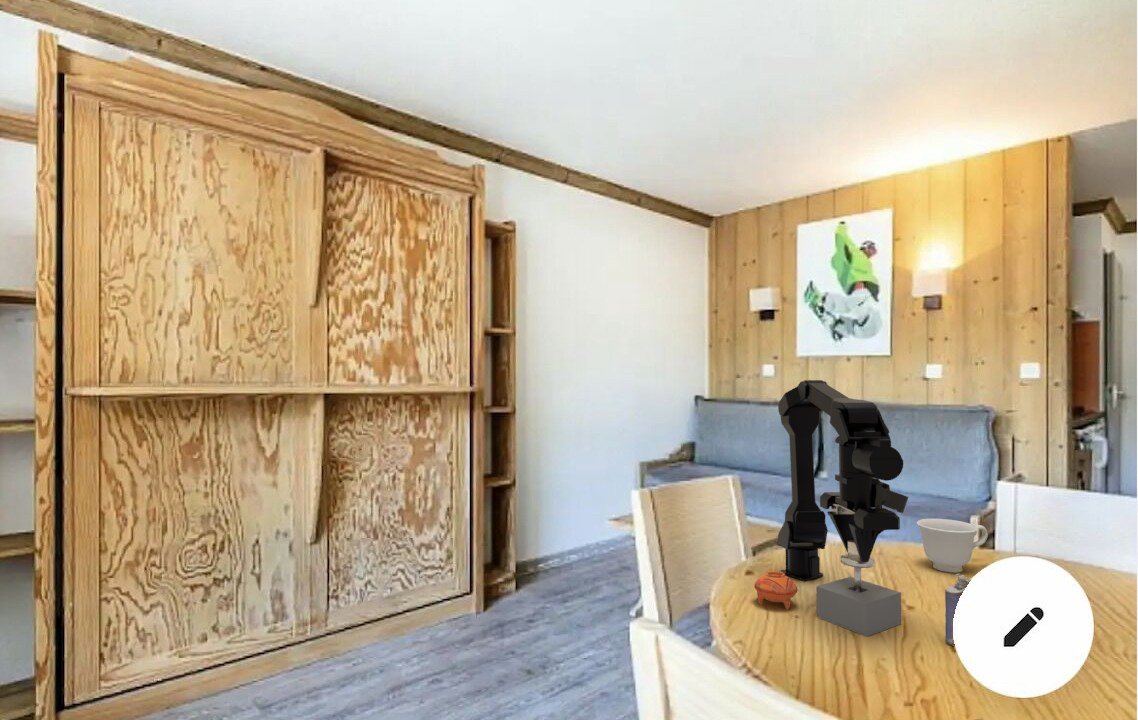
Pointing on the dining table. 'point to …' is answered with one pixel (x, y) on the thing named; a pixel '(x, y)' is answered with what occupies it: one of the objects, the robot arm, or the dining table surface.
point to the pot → (775, 588)
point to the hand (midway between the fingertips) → (857, 557)
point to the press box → (858, 606)
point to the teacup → (949, 542)
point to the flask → (953, 605)
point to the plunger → (856, 564)
